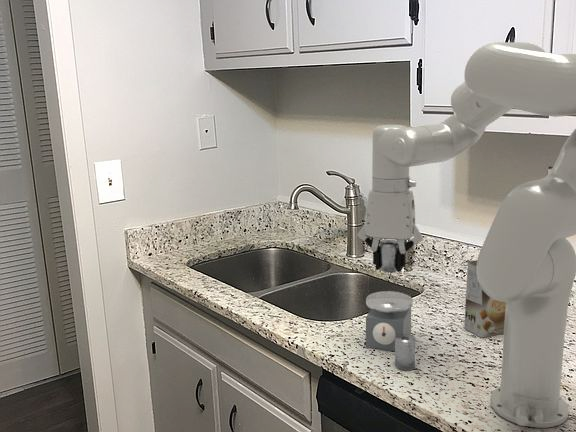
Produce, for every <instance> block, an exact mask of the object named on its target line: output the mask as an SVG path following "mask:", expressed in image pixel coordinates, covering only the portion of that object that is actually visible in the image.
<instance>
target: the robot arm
mask: <svg viewBox="0 0 576 432" xmlns="http://www.w3.org/2000/svg"><path fill="white" fill-rule="evenodd" d="M450 105H451V110H452V112H453V114H452V115H450V116H448V117H447V118H446V119H445V120H443V121H441V122H440V123H437V124H429V125H418V126H410V127H407V126H406V125H403V124H402V125H401V124H382V125H378V126H376V127H374V129H373V131H372V153H371V155H372V158H371V159H372V167H371V169H372V170H371V172H372V175H371V176H372V177H371V180H372V181H371V185H372V186H371V188H372V189H370V190H369V191H368V194H367V195H368V196H367V201H366V209H365V219H364V224H363V225H362V226H361V228H360V230H359V231H358V232H357V233H356V236H357V237H358V238H359V239H360V240H362V241H363V242H364V243H365V244H366V245H367V246H368V247H369V248H370V249H371V251H372V264H373V265H375V267H374V268H375V270H377V271H378V270H380V242H381V241H382V240H395V241H398V244H399V253H398V254H397V271H396V272H399V273H400V272H402V270H403V268H405V267H406V264H407V263H406V262H407V261H406V260H407V259H406V258H407V255H406V253H407V252H408V251H410V249H411V248H412V247H413V246H415V245H418V244H419V243H421V242H422V241H423V240H424V236H423V234H422V233H421V232H420V230H419V228H418V227H417V225H416V209H415V208H416V206H415V205H416V204H415V196H414V191H413V190H410V189H411V188H416V187H417V182H416V181H417V180H414V179H411V177H410V167H412V168H413V167H420V166H424V165H428V164H437V163H444V162H447V161H449V160H451V159H453V158H456V157H457V156H459V155H460V154H462V153H463V152H464V151H467V149H469V148H471V147H472V146H473V145H475V144H476V143H477V142H478V141H479V140H480V139H481V137H482V136H483V134H484V133H485V131H486V128H487V127H488V126H489V125H490V124H492V123H494V122H495V121H497V120H498V119H499V118H501V117H502V116H504V115H505V114H507V113H508V112H511V111H512V110H513V109H516V110H519V111H523V112H527V113H532V114H534V115H539V116H544V117H555V118H556V117H557V118H558V117H568V116H576V53H562V54H561V53H553V52H547V51H545V50H544V49H543V48H542V47H541V46H538V45H536V44H533V43H530V42H517V41H516V42H511V41H509V42H508V41H507V42H505V41H503V42H499V41H498V42H491V43H487V44H485V45H483V46H481V47H479V48H478V49H477V50H476V51H474V52H473V53H472V55H471V56H469V58H468V60H467V62H466V64H465V69H464V82H462V83H461V84H460V85H459V86H457V87H456V88H455V89H454V90H453V92H452V94H451V96H450ZM573 236H576V128H575V129H574V130H573V131H572V132H571V133H570V135H569V136H568V138H567V139H566V140H565V142H564V144H563V146H562V147H561V149H560V152H559V154H558V157H557V159H556V161H555V163H554V165H553V166H552V168H551V170H550V171H549V173H548V174H547V175H546V176H544V177H542V178H540V179H534V180H530V181H526V182H524V183H522V184H519V185H518V186H516V187H514V188H513V189H512V190H511V191H510V192H509V193H507V194H506V196H505V197H504V199H503V200H502V201H501V204H500V206H499V208H498V209H497V212H496V214H495V216H494V218H493V220H492V223H491V225H490V228H489V230H488V232H487V235H486V237H485V239H484V242H483V244H482V246H481V249H480V251H479V254H478V256H477V259H476V260H477V266H476V274H477V279H478V282H479V285H480V287H481V288H482V290H483V291H484V292H485V293H486V294H487V295H488V296H489V297H491V298H492V299H495V300H497V301H501V302H507V304H506V310H505V321H504V333H503V340H502V359H501V374H500V375H501V377H500V387H498V388H496V389H495V390H493V391H492V393H491V394H490V405H491V408H492V409H493V411H494V412H496V414H497V415H499V416H500V417H502V419H504V420H507V421H509V422H512V423H514V424H517V425H519V426H521V427H531V428H537V429H543V428H551V427H553V428H554V427H557V426H559V425H562V424H563V423H565V422H566V421H567V419H568V418H569V410H570V409H569V406H568V404H567V402H566V401H565V399H564V398H562V397H561V385H562V384H561V383H562V374H563V360H564V351H565V350H564V348H565V337H566V336H565V335H566V329H567V328H566V327H567V318H568V317H567V316H568V307H569V303H570V297H571V293H572V289H573V285H574V282H575V277H576V251H575V248H574V246H573V244H572V243H571V242H570V241H569V239H567V238H570V237H573ZM412 237H413V238H412ZM407 240H408V241H407Z"/></svg>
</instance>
